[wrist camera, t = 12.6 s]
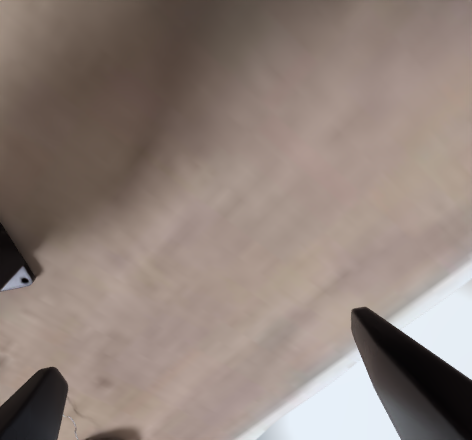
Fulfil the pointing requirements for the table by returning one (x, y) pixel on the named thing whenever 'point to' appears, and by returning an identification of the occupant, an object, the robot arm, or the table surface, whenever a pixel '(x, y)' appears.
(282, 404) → the table surface
